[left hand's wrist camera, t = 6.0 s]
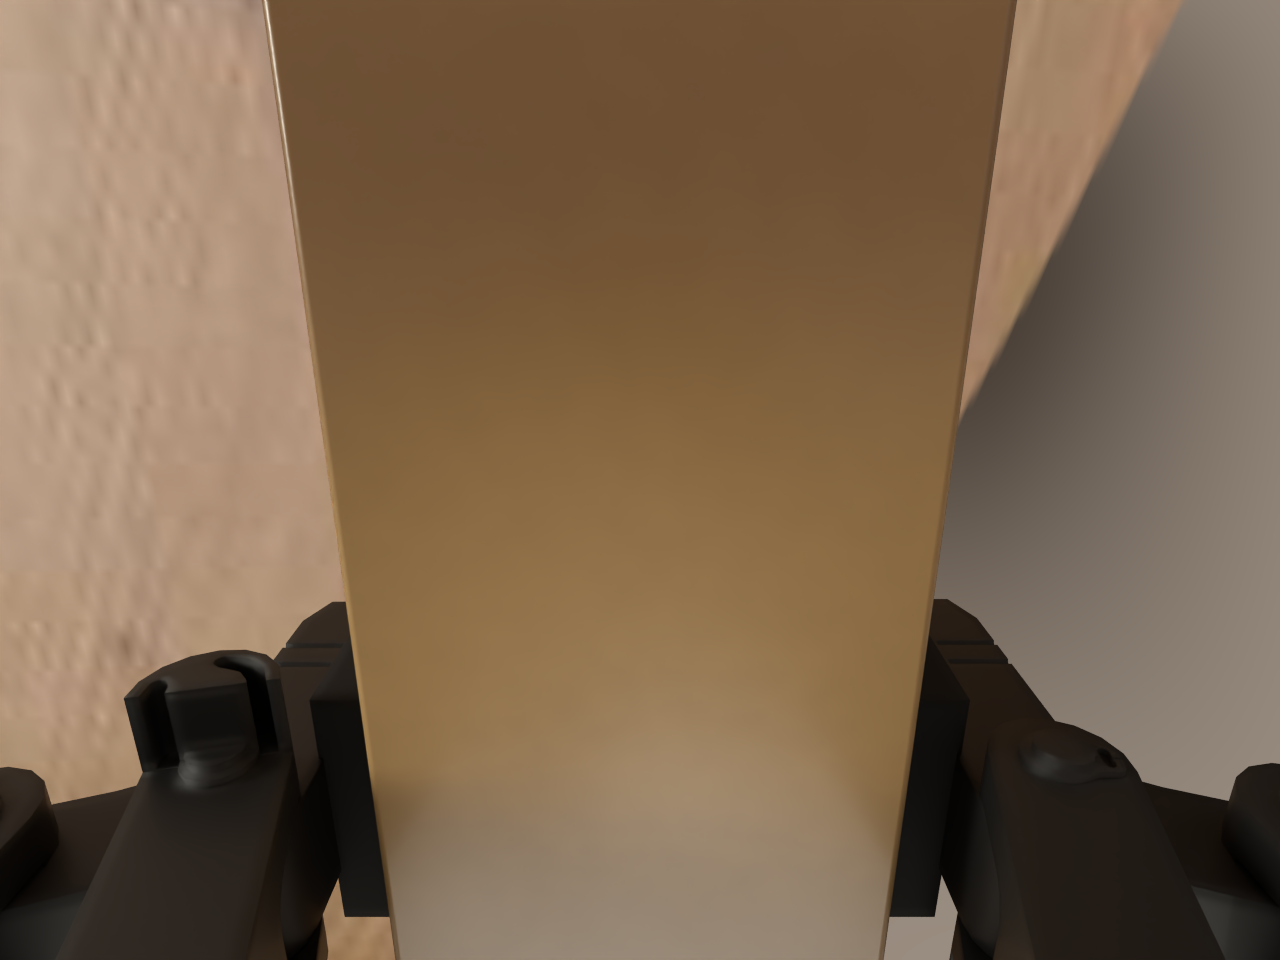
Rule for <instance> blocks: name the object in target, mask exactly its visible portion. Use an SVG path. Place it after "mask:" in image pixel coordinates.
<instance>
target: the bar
mask: <svg viewBox="0 0 1280 960" xmlns="http://www.w3.org/2000/svg"><path fill="white" fill-rule="evenodd" d="M1016 3H1017V0H262V5H263V12H264V19H265V26H266V33H267V40H268V48H269V55H270V62H271V69H272V76H273V83H274V91H275V98H276V105H277V112H278V119H279V127H280V134H281V141H282V148H283V155H284V162H285V170H286V177H287V184H288V191H289V198H290V205H291V213H292V220H293V227H294V234H295V241H296V249H297V256H298V263H299V270H300V277H301V284H302V292H303V299H304V306H305V313H306V320H307V327H308V335H309V342H310V349H311V356H312V363H313V371H314V378H315V385H316V392H317V399H318V406H319V414H320V421H321V428H322V435H323V442H324V449H325V457H326V464H327V471H328V478H329V485H330V493H331V500H332V507H333V514H334V521H335V528H336V536H337V543H338V550H339V557H340V564H341V571H342V579H343V586H344V593H345V600H346V607H347V615H348V622H349V629H350V636H351V643H352V650H353V658H354V665H355V672H356V679H357V686H358V693H359V701H360V708H361V715H362V722H363V729H364V737H365V744H366V751H367V758H368V765H369V772H370V780H371V787H372V794H373V801H374V808H375V815H376V823H377V830H378V837H379V844H380V851H381V859H382V866H383V873H384V880H385V887H386V894H387V902H388V909H389V916H390V923H391V930H392V937H393V945H394V952H395V959H396V960H883V959H884V952H885V945H886V938H887V931H888V923H889V916H890V909H891V902H892V895H893V887H894V880H895V873H896V866H897V859H898V852H899V844H900V837H901V830H902V823H903V816H904V808H905V801H906V794H907V787H908V780H909V772H910V765H911V758H912V751H913V744H914V737H915V729H916V722H917V715H918V708H919V701H920V693H921V686H922V679H923V672H924V665H925V657H926V650H927V643H928V636H929V629H930V622H931V614H932V607H933V600H934V593H935V585H936V578H937V571H938V564H939V557H940V550H941V542H942V535H943V528H944V521H945V514H946V506H947V499H948V492H949V485H950V478H951V471H952V463H953V456H954V449H955V442H956V435H957V427H958V420H959V413H960V406H961V399H962V392H963V384H964V377H965V370H966V363H967V356H968V348H969V341H970V334H971V327H972V320H973V312H974V305H975V298H976V291H977V284H978V277H979V269H980V262H981V255H982V248H983V241H984V233H985V226H986V219H987V212H988V205H989V197H990V190H991V183H992V176H993V169H994V162H995V154H996V147H997V140H998V133H999V126H1000V118H1001V111H1002V104H1003V97H1004V90H1005V82H1006V75H1007V68H1008V61H1009V54H1010V47H1011V39H1012V32H1013V25H1014V18H1015V11H1016Z"/></svg>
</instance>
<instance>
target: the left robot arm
mask: <svg viewBox="0 0 1280 960" xmlns="http://www.w3.org/2000/svg"><path fill="white" fill-rule="evenodd" d="M124 701H125V705H126V709H127V713H128V717H129V721H130V724H131V728H132V732H133V736H134V740H135V744H136V748H137V752H138V756H139V760H140V763H141V767H142V771H143V773H142V776H141V778H140V780H139V782H138V784H137V786H134V787H130V788H126V789H123V790H119V791H115V792H110V793H105V794H100V795H96V796H91V797H86V798H81V799H77V800H72V801H67V802H62V803H58V804H53V805H51V802H50V798H49V795H48V792H47V789H46V785H45V782H44V780H42V779H41V778H40V777H39V776H38V775H36V774H35V773H34V772H33V771H32V770H25V769H19V768H12V767H4V768H0V960H327V957H328V946H327V938H326V931H325V925H324V920H323V912H324V910H325V908H326V905H327V903H328V901H329V898H330V896H331V894H332V891H333V889H334V887H335V884H336V882H337V880H338V878H339V884H340V890H341V897H342V903H343V909H344V915H345V917H390V916H389V909H388V902H387V894H386V887H385V880H384V873H383V866H382V859H381V851H380V844H379V837H378V830H377V823H376V815H375V808H374V801H373V794H372V787H371V780H370V772H369V765H368V758H367V751H366V744H365V737H364V729H363V722H362V715H361V708H360V701H359V693H358V686H357V679H356V672H355V665H354V658H353V650H352V643H351V636H350V629H349V622H348V615H347V607H346V602H332V603H330V604H328V605H327V606H325V607H324V608H322V609H321V610H319V611H318V612H316V613H315V614H313V615H312V616H310V617H308V618H307V619H305V620H304V621H303V622H302V623H301V624H300V626H299V627H298V628H297V630H296V631H295V632H294V634H293V635H292V636H291V638H290V639H289V640H288V642H287V643H286V648H282V650H281V651H280V652H279V654H278V655H277V656H276V657H275V659H274V660H272V659H271V658H270V657H269V656H267V655H266V654H261V653H257V652H253V651H248V650H220V651H215V652H210V653H205V654H200V655H195V656H191V657H188V658H185V659H183V660H180V661H177V662H175V663H172V664H170V665H167V666H164V667H162V668H160V669H159V670H157V671H156V672H154V673H152V674H151V675H149V676H147V677H146V678H144V679H143V680H141V681H139V682H138V683H137V684H136V685H135V687H134V688H133V689H132V690H131V691H130V692H129V693H128V694H127V695H126V696H125V698H124ZM941 875H942V877H943V879H944V881H945V884H946V886H947V888H948V891H949V893H950V895H951V898H952V900H953V902H954V905H955V907H956V909H957V911H958V914H957V920H956V925H955V931H954V937H953V942H952V948H951V954H950V959H949V960H1280V764H1276V763H1269V764H1262V765H1256V766H1249V767H1248V768H1246V769H1245V770H1244V771H1243V772H1242V773H1240V774H1239V775H1238V776H1237V777H1236V780H1235V783H1234V786H1233V789H1232V793H1231V796H1230V799H1229V801H1226V800H1221V799H1216V798H1211V797H1207V796H1202V795H1197V794H1192V793H1188V792H1183V791H1178V790H1173V789H1168V788H1164V787H1160V786H1156V785H1152V784H1149V783H1145V782H1142V781H1141V778H1140V776H1139V774H1138V772H1137V771H1136V769H1135V768H1134V767H1133V765H1132V764H1131V763H1130V761H1129V760H1128V759H1127V758H1126V756H1125V755H1124V754H1123V753H1122V752H1121V751H1119V750H1118V749H1116V748H1115V747H1114V746H1112V745H1111V744H1109V743H1108V742H1107V741H1105V740H1104V739H1103V738H1101V737H1099V736H1096V735H1094V734H1092V733H1090V732H1087V731H1085V730H1083V729H1081V728H1079V727H1076V726H1074V725H1069V724H1065V723H1061V722H1057V721H1055V720H1054V719H1053V718H1052V717H1051V715H1050V714H1049V713H1048V711H1047V710H1046V709H1045V707H1044V706H1043V705H1042V703H1041V702H1040V701H1039V699H1038V698H1037V697H1036V695H1035V694H1034V693H1033V691H1032V690H1031V689H1030V688H1029V686H1028V685H1027V684H1026V682H1025V681H1024V680H1023V678H1022V677H1021V676H1020V674H1019V673H1018V672H1017V670H1016V669H1015V668H1014V666H1013V665H1012V664H1008V659H1007V657H1006V656H1005V655H1004V653H1003V652H1002V651H1001V649H1000V648H999V647H998V645H994V640H993V639H992V637H991V636H990V635H989V634H988V632H987V631H986V630H985V628H984V627H983V626H982V624H981V623H980V622H979V620H978V619H977V618H976V617H974V616H973V615H971V614H970V613H968V612H966V611H965V610H963V609H962V608H960V607H959V606H957V605H956V604H954V603H952V602H951V601H949V600H948V599H934V600H933V607H932V614H931V622H930V629H929V636H928V643H927V650H926V657H925V665H924V672H923V679H922V686H921V693H920V701H919V708H918V715H917V722H916V729H915V737H914V744H913V751H912V758H911V765H910V772H909V780H908V787H907V794H906V801H905V808H904V816H903V823H902V830H901V837H900V844H899V852H898V859H897V866H896V873H895V880H894V887H893V895H892V902H891V909H890V916H889V917H934V916H935V911H936V905H937V899H938V893H939V887H940V881H941Z"/></svg>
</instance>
